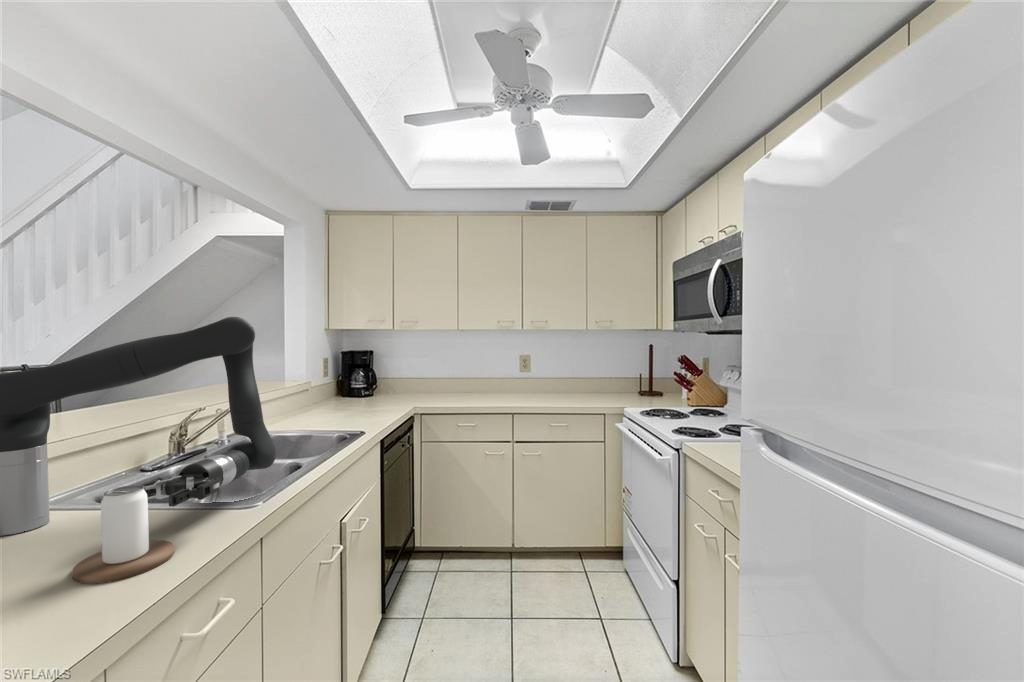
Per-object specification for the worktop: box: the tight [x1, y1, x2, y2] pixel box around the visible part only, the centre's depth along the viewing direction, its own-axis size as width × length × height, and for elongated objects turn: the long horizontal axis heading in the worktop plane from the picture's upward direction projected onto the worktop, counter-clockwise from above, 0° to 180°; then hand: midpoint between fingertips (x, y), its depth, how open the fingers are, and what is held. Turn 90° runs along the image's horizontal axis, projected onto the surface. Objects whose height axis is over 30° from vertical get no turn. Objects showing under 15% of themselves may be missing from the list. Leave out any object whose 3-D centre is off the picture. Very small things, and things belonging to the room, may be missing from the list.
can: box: [100, 484, 150, 565], centre depth 84 cm, size 6×6×12 cm
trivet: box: [71, 539, 175, 584], centre depth 84 cm, size 14×14×1 cm
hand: (148, 501), depth 89 cm, fingers open, 8 cm apart
